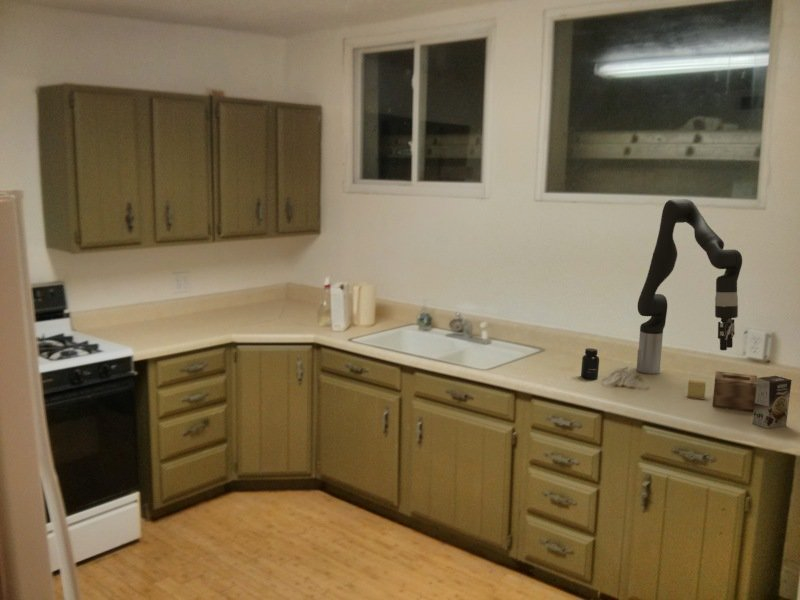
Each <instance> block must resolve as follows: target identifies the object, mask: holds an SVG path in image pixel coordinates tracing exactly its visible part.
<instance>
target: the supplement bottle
mask: <svg viewBox="0 0 800 600" xmlns="http://www.w3.org/2000/svg"><path fill="white" fill-rule="evenodd" d="M599 368H600V358H599V356H598V349H597V348H590V347H587V348H585V351H584V355H583V356H582V357H581V370H580V371H581V372H580V377H581V379H584V380H588V381H595V380H598V377H599V370H600V369H599Z"/></svg>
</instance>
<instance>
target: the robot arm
mask: <svg viewBox="0 0 800 600" xmlns="http://www.w3.org/2000/svg"><path fill="white" fill-rule="evenodd" d="M681 223H687V224H688V225H690V227H692V228H693V230H694V233H693V234H694V240H695V242H696V243H697V244H698V245H699V247H701V249H702V250H703V251H704V252H705V254H706V255H707V258H708V260H709V262H710V264H711V265H712V267H714V268H715V269H717V270H725V271H724V273H723V274H722V275H720V276H717V277H716V279H715V296H714V297H715V299H714V301H715V304H714V314H715V315H714V316H715V318H718V319H720V321H718V322H717V339H719V351H727V350H728V349H729V348H730V349H731V348H733V343H734V342H733V338H734V337H735V335H736V334H735V319H737V318H738V317H739V316H738V315H739V304H738V303H739V299H738V298H739V297H738V279H739V276H740V272H741V269H742V264H743V256H742V254H741V251H739V250H737V249H724V247H725V243H724V241H723V239H722V238H721V237H720V236H719V235H718V234H717V233H716V232H715V231H714V230H713V229H712V227H710V226H709V223H707V221H706V219H705V218H704V216H703V214H702V213H701V212H700V210H699V208H698V207H697V205H695V203H694V202H693V201H692V200H691V199H688V198H687V199H686V198H681V199H680V198H677V199H676V198H673V199H668V200H667V201H666V202H665V204H664V206H663V208H662V213H661V217H660V224H659V230H658V236H657V238H656V243H655V247H654V250H653V253H652V257H651V261H650V265H649V269H648V272H647V276H646V278H645V281H644V284H643V287H642V289H641V292H640V295H639V298H638V301H637V311H638V314H639V315H640V316H642V317H650V319H648V320H647V321H644V322H643V323H641V324H640V325H639V340H638V349H637V359H636V370H635V371H636V372H639V373H641V374H642V373H643V374H649V375H655V374H659V373H660V372H661V364H662V363H661V362H662V351H663V350H662V349H663V337H664V328H665V326H666V320H667V315H668V300H667V297H666V296H665V295H663V294H661V293H657V291H658V288H659V287H660V286H661V284H663V282H664V281H665V280H667V278H668V277H669V276H670V275H671V274H672V272H673V271H674V269H675V266H676V262H677V259H678V249H677V245H676V243H675V240H674V230H675V227H676V224H681Z"/></svg>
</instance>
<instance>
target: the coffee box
mask: <svg viewBox="0 0 800 600" xmlns="http://www.w3.org/2000/svg"><path fill="white" fill-rule="evenodd" d="M757 379H758V380H757V389H756V397H755V406H754V412H753V416H752V424H754V425H757V426H760V427H762V428H764V429H772V428H773V429H774V428H781V427H785V426H787V422H788V421H787V420H788V414H789V413H788V411H789V405H790V397H791V388H792V379H789V378H786V377H783V376H777V375H769V376H763V377H757Z"/></svg>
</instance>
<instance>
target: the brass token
mask: <svg viewBox="0 0 800 600" xmlns="http://www.w3.org/2000/svg"><path fill="white" fill-rule="evenodd" d="M687 385H688V386H687V395H686V396H687V398H692V397H695V398H694V399H700V398H703V399H702V400H705V394H706V385H707V382H706V381H702V380H701V381H700V380H693V379H688V384H687Z"/></svg>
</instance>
